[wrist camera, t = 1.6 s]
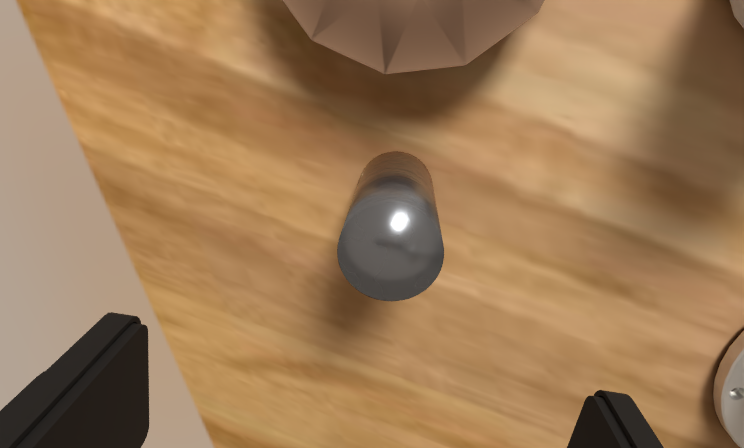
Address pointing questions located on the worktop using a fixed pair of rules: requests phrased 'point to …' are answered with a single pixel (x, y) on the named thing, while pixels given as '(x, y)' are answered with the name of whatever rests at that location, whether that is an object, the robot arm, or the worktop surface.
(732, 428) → the robot arm
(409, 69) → the bead
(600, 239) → the worktop surface
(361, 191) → the peg
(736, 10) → the can
